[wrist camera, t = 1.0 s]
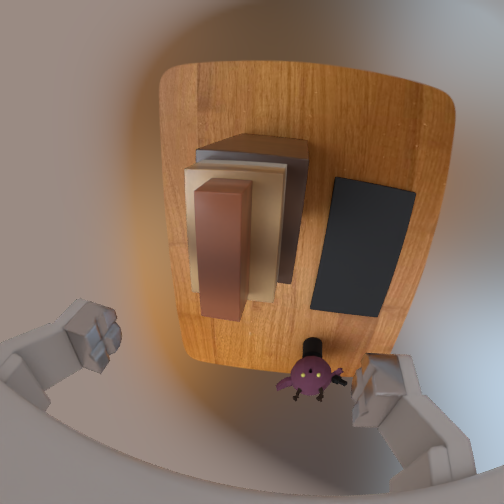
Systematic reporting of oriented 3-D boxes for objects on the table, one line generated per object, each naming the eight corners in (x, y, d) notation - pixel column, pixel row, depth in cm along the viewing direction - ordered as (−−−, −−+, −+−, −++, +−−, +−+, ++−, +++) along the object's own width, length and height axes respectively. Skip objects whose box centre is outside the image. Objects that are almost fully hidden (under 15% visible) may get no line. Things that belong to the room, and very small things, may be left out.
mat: (335, 176, 34) (335, 177, 33) (414, 192, 33) (416, 193, 32) (310, 306, 43) (310, 309, 43) (376, 315, 42) (377, 317, 41)
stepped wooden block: (202, 159, 20) (161, 180, 14) (287, 163, 19) (279, 186, 13) (205, 268, 24) (176, 317, 18) (278, 277, 23) (267, 332, 17)
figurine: (345, 342, 45) (350, 399, 35) (314, 366, 49) (312, 420, 39) (309, 319, 44) (307, 378, 34) (279, 346, 48) (270, 402, 38)
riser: (241, 133, 34) (195, 149, 20) (307, 140, 33) (309, 159, 19) (237, 208, 38) (195, 269, 24) (297, 216, 37) (291, 284, 23)
